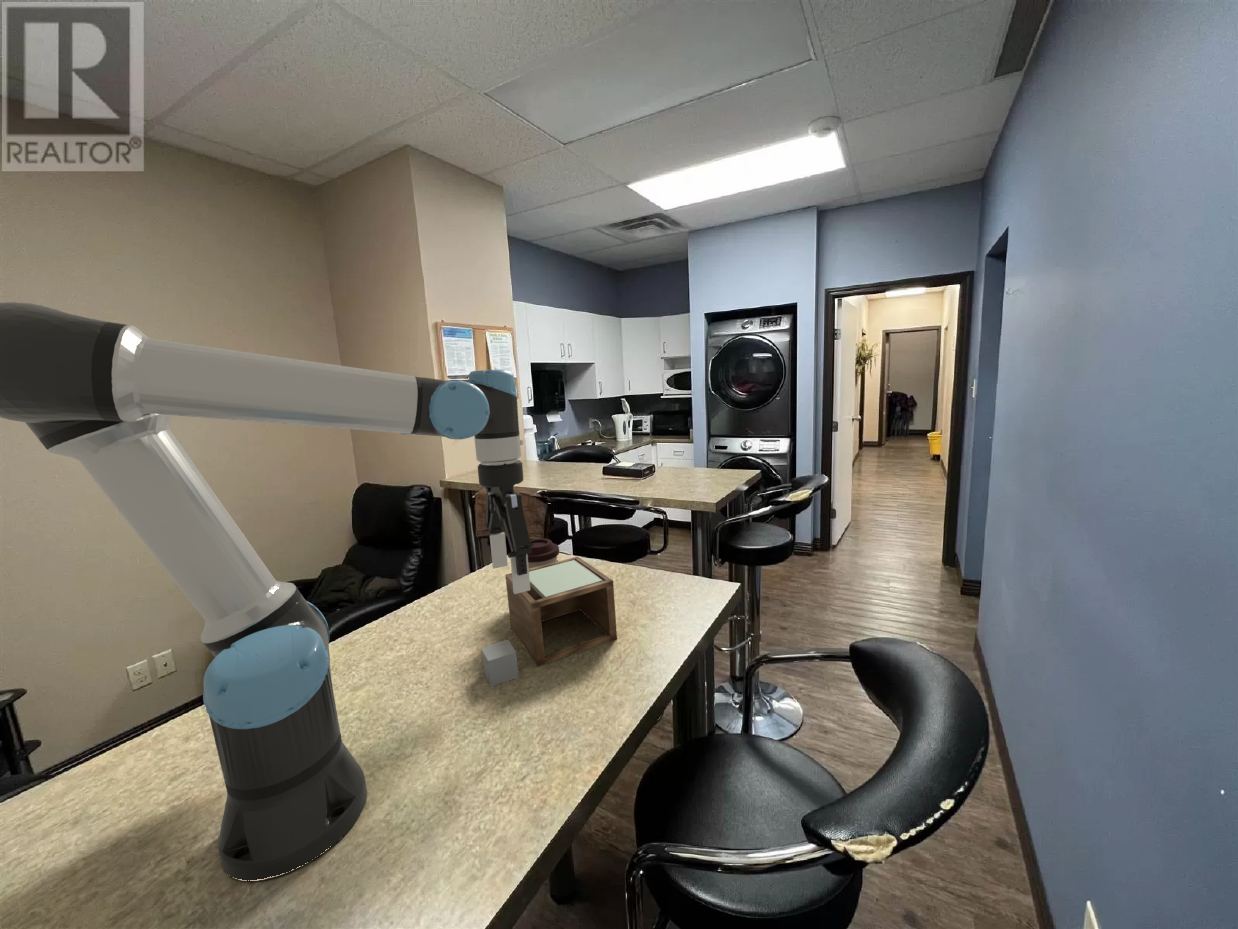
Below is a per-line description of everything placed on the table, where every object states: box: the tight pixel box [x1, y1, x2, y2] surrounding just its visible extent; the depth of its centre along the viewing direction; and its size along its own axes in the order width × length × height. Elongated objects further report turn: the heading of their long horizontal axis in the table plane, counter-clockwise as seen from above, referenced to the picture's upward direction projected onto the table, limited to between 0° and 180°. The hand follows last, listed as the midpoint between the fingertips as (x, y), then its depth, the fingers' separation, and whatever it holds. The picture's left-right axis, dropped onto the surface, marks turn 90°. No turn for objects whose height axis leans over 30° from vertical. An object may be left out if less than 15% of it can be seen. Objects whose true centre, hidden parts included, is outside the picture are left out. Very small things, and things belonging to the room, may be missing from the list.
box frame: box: [504, 556, 618, 667], centre depth 100 cm, size 17×17×12 cm
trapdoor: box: [529, 560, 604, 598], centre depth 99 cm, size 12×14×1 cm
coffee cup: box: [527, 537, 560, 569], centre depth 115 cm, size 10×10×15 cm
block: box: [481, 639, 520, 687], centre depth 87 cm, size 5×5×5 cm
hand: (510, 578), depth 86 cm, fingers open, 13 cm apart
